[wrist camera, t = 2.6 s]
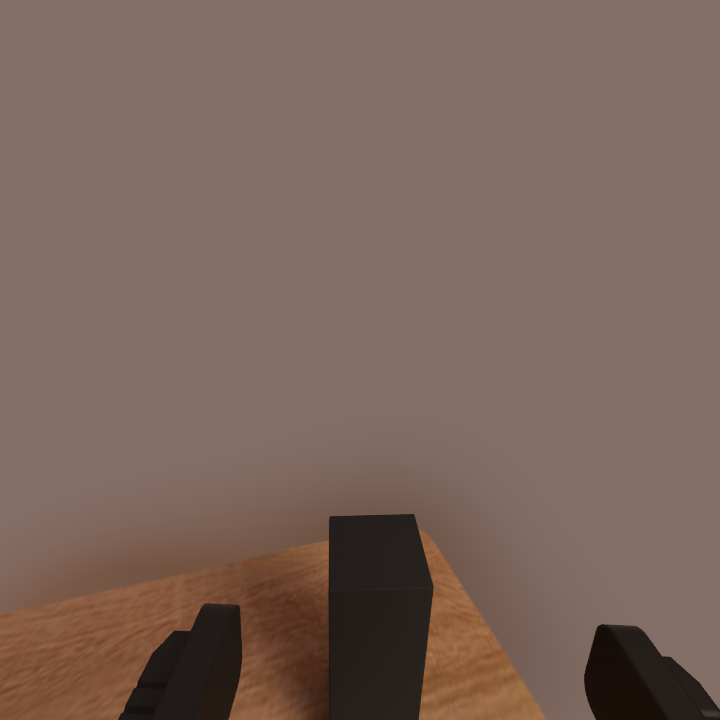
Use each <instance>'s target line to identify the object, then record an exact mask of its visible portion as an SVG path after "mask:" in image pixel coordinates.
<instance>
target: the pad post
mask: <svg viewBox="0 0 720 720" xmlns="http://www.w3.org/2000/svg"><path fill="white" fill-rule="evenodd" d="M433 588H434V587H433V583H432V579H431V576H430V572H429V568H428V564H427V561H426V557H425V553H424V549H423V545H422V542H421V538H420V534H419V530H418V527H417V523H416V519H415V516H414V514H403V515H366V516H330V519H329V712H330V720H418V719H419V711H420V702H421V693H422V684H423V676H424V667H425V658H426V649H427V640H428V632H429V623H430V614H431V605H432V597H433Z"/></svg>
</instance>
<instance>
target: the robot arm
mask: <svg viewBox="0 0 720 720" xmlns="http://www.w3.org/2000/svg"><path fill="white" fill-rule="evenodd" d="M241 665H242V640H241V618H240V607H239V605H231V604H210V603H205V604H204V605H203V606H202V608H201V610H200V612H199V614H198V616H197V618H196V620H195V623H194V625H193V627H192V629H191V631H173V632H172V634H171V635H170V636H169V637H168V638H167V639H166V640H165V641H164V642H163V643H162V644H161V645H160V646H159V647H158V648H157V649H156V650H155V651H154V652H153V653H152V655H151V657H150V659H149V661H148V663H147V665H146V667H145V669H144V671H143V673H142V675H141V676H140V678H139V680H138V684H137V687H136V688H134V690H133V692H132V694H131V696H130V698H129V700H128V701H127V703H126V705H125V709H124V712H123V713H121V715H120V717H119V719H118V720H228V719H229V715H230V712H231V708H232V705H233V702H234V698H235V695H236V691H237V687H238V683H239V678H240V672H241ZM584 684H585V691H586V696H587V699H588V702H589V705H590V708H591V710H592V712H593V714H594V716H595V718H596V720H720V710H719V708H718V707H717V706H716V704H715V703H714V702H713V700H712V699H711V698H710V696H709V695H708V694H707V692H706V691H705V690H704V688H703V687H702V686H701V684H700V683H699V682H698V681H697V680H696V679H695V678H693V677H692V676H691V675H690V674H689V673H688V672H687V671H686V670H684V669H683V668H682V667H681V666H680V665H679V664H678V663H676V662H675V661H674V660H673V659H672V658H671V657H663V656H661V654H660V653H659V652H658V650H657V649H656V647H655V646H654V645H653V643H652V642H651V640H650V639H649V638H648V636H647V635H646V634H645V632H643V630H641V629H640V628H638V627H637V626H624V625H604V624H602V625H599V626H598V627H597V630H596V633H595V636H594V640H593V644H592V648H591V652H590V655H589V659H588V663H587V666H586V670H585V675H584Z"/></svg>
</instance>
